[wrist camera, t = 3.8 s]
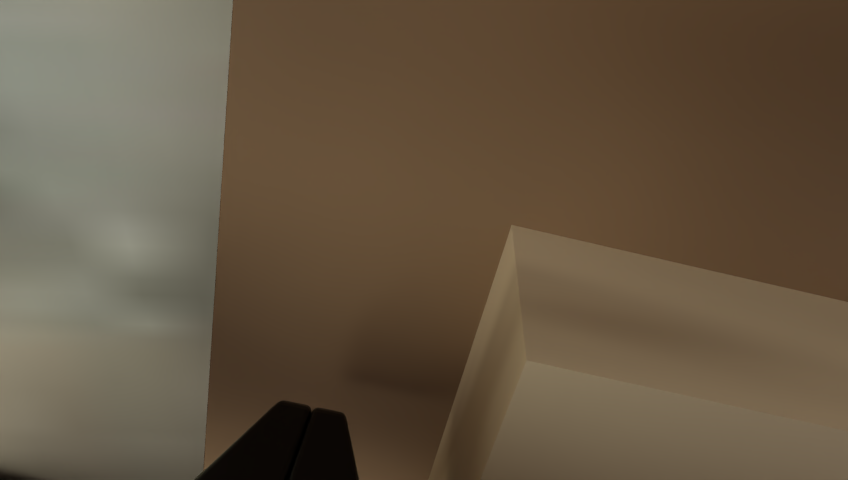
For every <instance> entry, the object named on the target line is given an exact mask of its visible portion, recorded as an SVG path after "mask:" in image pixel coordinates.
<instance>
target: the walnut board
mask: <svg viewBox="0 0 848 480" xmlns="http://www.w3.org/2000/svg"><path fill="white" fill-rule="evenodd" d="M511 225H514V226H519V227H523V228H527V229H532V230H536V231H540V232H545V233H549V234H554V235H558V236H562V237H567V238H571V239H575V240H580V241H584V242H588V243H593V244H597V245H601V246H606V247H610V248H615V249H619V250H623V251H628V252H632V253H636V254H641V255H645V256H649V257H654V258H658V259H662V260H667V261H671V262H676V263H680V264H684V265H689V266H693V267H697V268H702V269H706V270H710V271H715V272H719V273H723V274H728V275H732V276H737V277H741V278H745V279H750V280H754V281H758V282H763V283H767V284H771V285H776V286H780V287H784V288H789V289H793V290H798V291H802V292H806V293H811V294H815V295H819V296H824V297H828V298H832V299H837V300H841V301H845V302H848V0H233V11H232V27H231V43H230V59H229V75H228V91H227V106H226V122H225V138H224V154H223V170H222V186H221V201H220V217H219V233H218V249H217V265H216V280H215V296H214V312H213V328H212V344H211V360H210V375H209V391H208V407H207V423H206V439H205V455H204V470H205V469H206V468H207V467H208V466H210V465H211V464H212V463H213V462H214V461H215V460H216V459H217V458H218V457H219V456H220V455H221V454H222V453H223V452H225V451H226V450H227V449H228V448H229V447H230V446H231V445H232V444H233V443H234V442H235V441H236V440H237V439H239V438H240V437H241V436H242V435H243V434H244V433H245V432H246V431H247V430H248V429H249V428H250V427H251V426H252V425H254V424H255V423H256V422H257V421H258V420H259V419H260V418H261V417H262V416H263V415H264V414H265V413H266V412H268V411H269V410H270V409H271V408H272V407H273V406H274V405H275V404H276V403H278V402H279V401H282V400H286V401H290V402H295V403H300V404H305V405H308V406H309V407H310V408H311V410H312V411H313V409H314V408H317V407H319V408H324V409H329V410H334V411H339V412H342V413H344V414H345V416H346V418H347V423H348V428H349V433H350V438H351V442H352V447H353V452H354V457H355V462H356V467H357V472H358V477H359V480H428V479H429V476H430V473H431V470H432V467H433V464H434V461H435V457H436V454H437V451H438V448H439V445H440V442H441V439H442V436H443V433H444V430H445V427H446V424H447V421H448V418H449V415H450V412H451V409H452V406H453V403H454V399H455V396H456V393H457V390H458V387H459V384H460V381H461V378H462V375H463V372H464V369H465V366H466V363H467V360H468V357H469V354H470V351H471V348H472V344H473V341H474V338H475V335H476V332H477V329H478V326H479V323H480V320H481V317H482V314H483V311H484V308H485V305H486V302H487V299H488V296H489V293H490V289H491V286H492V283H493V280H494V277H495V274H496V271H497V268H498V265H499V262H500V259H501V256H502V253H503V250H504V247H505V244H506V241H507V238H508V235H509V231H510V228H511ZM204 470H203V471H204Z"/></svg>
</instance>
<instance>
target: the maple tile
mask: <svg viewBox="0 0 848 480" xmlns="http://www.w3.org/2000/svg"><path fill="white" fill-rule="evenodd" d="M428 480H848V302H845V301H841V300H837V299H832V298H828V297H824V296H819V295H815V294H811V293H806V292H802V291H798V290H793V289H789V288H784V287H780V286H776V285H771V284H767V283H763V282H758V281H754V280H750V279H745V278H741V277H737V276H732V275H728V274H723V273H719V272H715V271H710V270H706V269H702V268H697V267H693V266H689V265H684V264H680V263H676V262H671V261H667V260H662V259H658V258H654V257H649V256H645V255H641V254H636V253H632V252H628V251H623V250H619V249H615V248H610V247H606V246H601V245H597V244H593V243H588V242H584V241H580V240H575V239H571V238H567V237H562V236H558V235H554V234H549V233H545V232H540V231H536V230H532V229H527V228H523V227H519V226H514V225H511V228H510V231H509V235H508V238H507V241H506V244H505V247H504V250H503V253H502V256H501V259H500V262H499V265H498V268H497V271H496V274H495V277H494V280H493V283H492V286H491V289H490V293H489V296H488V299H487V302H486V305H485V308H484V311H483V314H482V317H481V320H480V323H479V326H478V329H477V332H476V335H475V338H474V341H473V344H472V348H471V351H470V354H469V357H468V360H467V363H466V366H465V369H464V372H463V375H462V378H461V381H460V384H459V387H458V390H457V393H456V396H455V399H454V403H453V406H452V409H451V412H450V415H449V418H448V421H447V424H446V427H445V430H444V433H443V436H442V439H441V442H440V445H439V448H438V451H437V454H436V457H435V461H434V464H433V467H432V470H431V473H430V476H429V479H428Z"/></svg>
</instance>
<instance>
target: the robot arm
mask: <svg viewBox="0 0 848 480" xmlns="http://www.w3.org/2000/svg"><path fill="white" fill-rule="evenodd" d="M194 480H359V477H358V472H357V467H356V462H355V457H354V452H353V447H352V442H351V438H350V433H349V428H348V423H347V418H346V416H345V414H344V413H342V412H339V411H334V410H329V409H324V408H319V407H317V408H314V409H313V411H312V410H311V408H310V407H309V406H308V405H305V404H300V403H295V402H290V401H286V400H282V401H279V402H278V403H276V404H275V405H274V406H273V407H272V408H271V409H270V410H269V411H268V412H266V413H265V414H264V415H263V416H262V417H261V418H260V419H259V420H258V421H257V422H256V423H255V424H254V425H252V426H251V427H250V428H249V429H248V430H247V431H246V432H245V433H244V434H243V435H242V436H241V437H240V438H239V439H237V440H236V441H235V442H234V443H233V444H232V445H231V446H230V447H229V448H228V449H227V450H226V451H225V452H223V453H222V454H221V455H220V456H219V457H218V458H217V459H216V460H215V461H214V462H213V463H212V464H211V465H210V466H208V467H207V468H206V469H205V470H204V471H203V472H202V473H201V474H200V475H199V476H198V477H197V478H196V479H194Z"/></svg>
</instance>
